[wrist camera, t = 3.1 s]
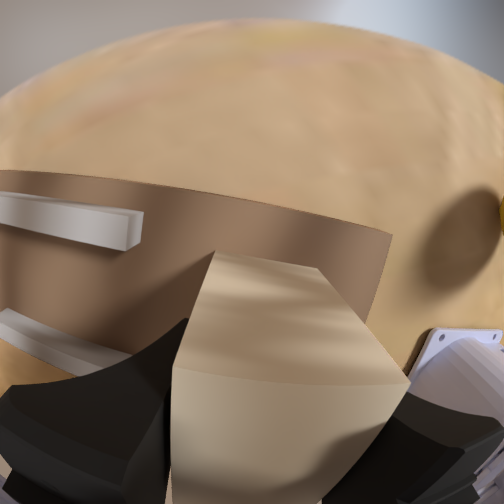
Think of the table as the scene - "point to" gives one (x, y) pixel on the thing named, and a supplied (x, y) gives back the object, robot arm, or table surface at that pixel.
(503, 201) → the lemon
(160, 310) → the board
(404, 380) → the block
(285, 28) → the table surface
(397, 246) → the table surface
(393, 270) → the table surface
